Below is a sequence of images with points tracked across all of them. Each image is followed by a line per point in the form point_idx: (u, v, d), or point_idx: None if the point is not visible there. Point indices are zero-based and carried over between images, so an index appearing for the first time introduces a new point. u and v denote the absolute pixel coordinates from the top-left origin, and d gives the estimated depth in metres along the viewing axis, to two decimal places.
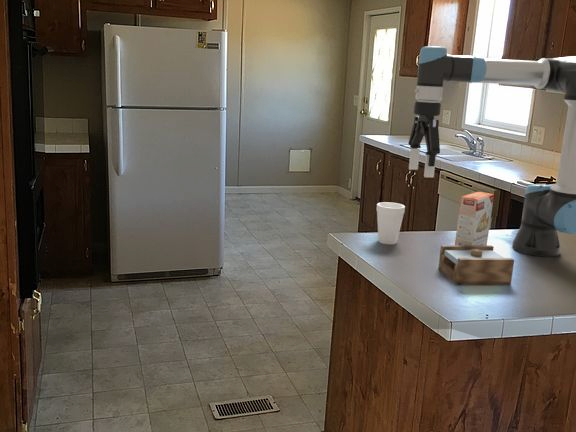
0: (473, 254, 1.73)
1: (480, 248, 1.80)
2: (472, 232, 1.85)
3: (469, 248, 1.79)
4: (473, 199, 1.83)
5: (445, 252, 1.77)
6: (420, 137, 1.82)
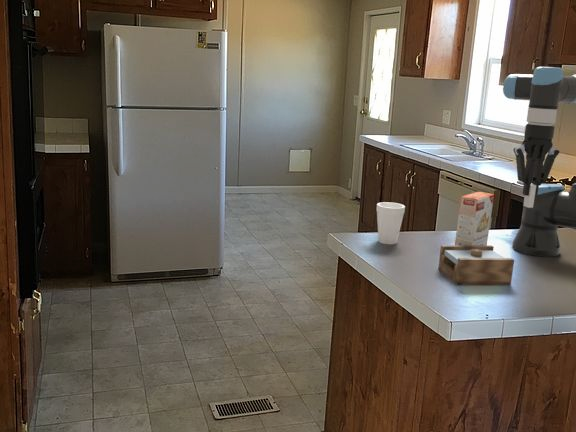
0: (473, 254, 1.73)
1: (480, 248, 1.80)
2: (472, 232, 1.85)
3: (469, 248, 1.79)
4: (473, 199, 1.83)
5: (445, 252, 1.77)
6: (536, 166, 1.70)
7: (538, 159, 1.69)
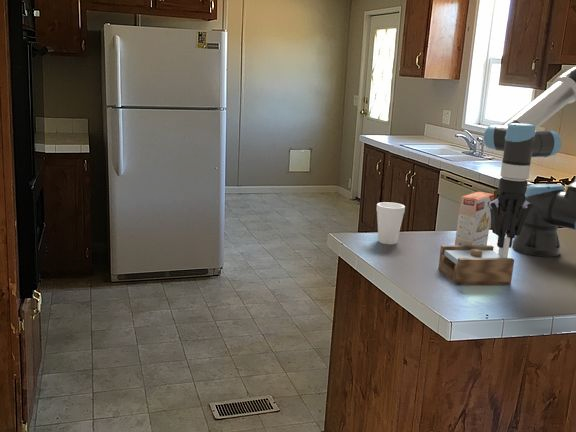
0: (473, 254, 1.73)
1: (480, 248, 1.80)
2: (472, 232, 1.85)
3: (469, 248, 1.79)
4: (473, 199, 1.83)
5: (445, 252, 1.77)
6: (510, 219, 1.73)
7: (512, 212, 1.72)
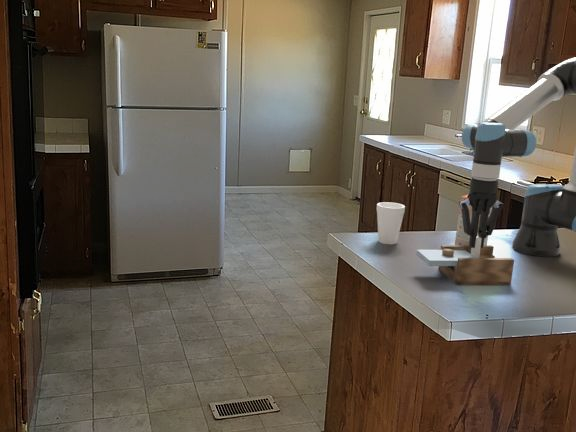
0: (444, 254, 1.72)
1: (480, 248, 1.80)
2: None
3: (469, 248, 1.79)
4: None
5: (417, 252, 1.76)
6: (482, 219, 1.71)
7: (483, 212, 1.71)
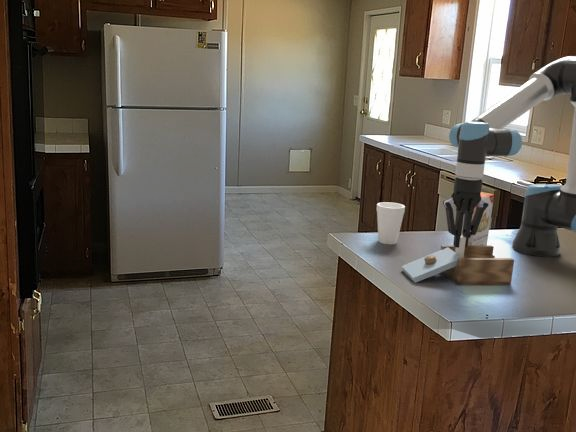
0: (427, 263, 1.72)
1: (480, 248, 1.80)
2: None
3: (469, 248, 1.79)
4: None
5: (402, 268, 1.77)
6: (466, 218, 1.71)
7: (467, 212, 1.70)
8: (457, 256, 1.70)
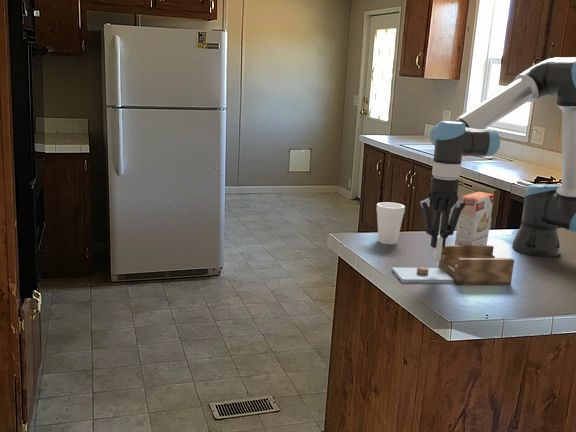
0: (419, 272, 1.72)
1: (480, 248, 1.80)
2: (472, 232, 1.85)
3: (469, 248, 1.79)
4: (473, 199, 1.83)
5: (392, 270, 1.77)
6: (443, 219, 1.70)
7: (444, 212, 1.69)
8: (449, 277, 1.71)
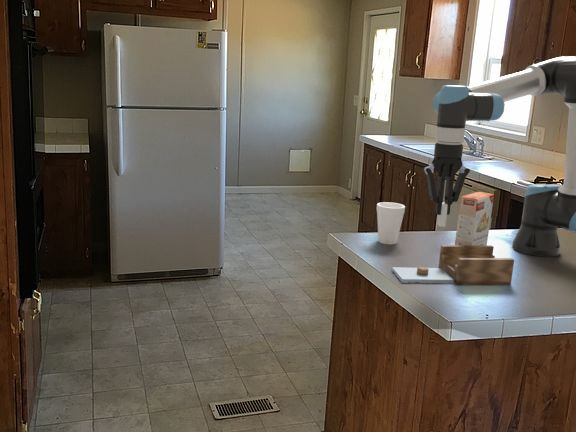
0: (419, 272, 1.72)
1: (480, 248, 1.80)
2: (472, 232, 1.85)
3: (469, 248, 1.79)
4: (473, 199, 1.83)
5: (392, 270, 1.77)
6: (447, 185, 1.68)
7: (448, 178, 1.67)
8: (449, 277, 1.71)
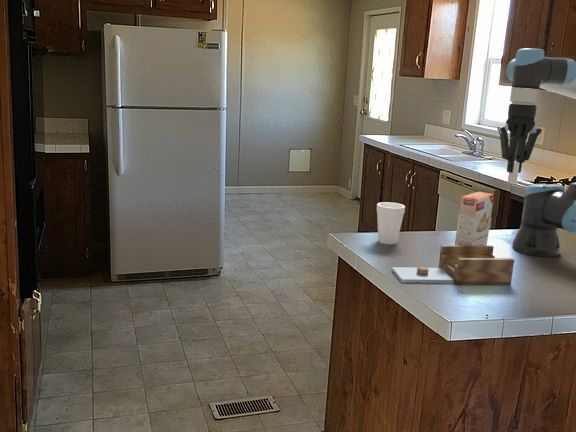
0: (419, 272, 1.72)
1: (480, 248, 1.80)
2: (472, 232, 1.85)
3: (469, 248, 1.79)
4: (473, 199, 1.83)
5: (392, 270, 1.77)
6: (520, 144, 1.77)
7: (521, 137, 1.76)
8: (449, 277, 1.71)
